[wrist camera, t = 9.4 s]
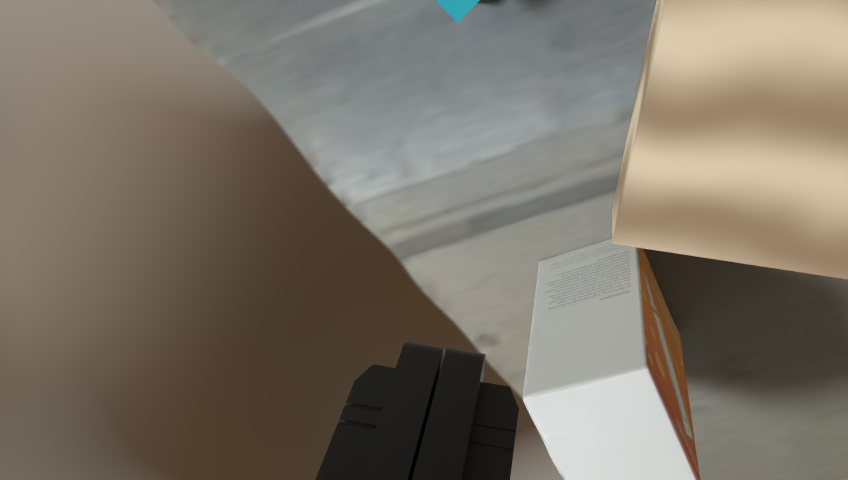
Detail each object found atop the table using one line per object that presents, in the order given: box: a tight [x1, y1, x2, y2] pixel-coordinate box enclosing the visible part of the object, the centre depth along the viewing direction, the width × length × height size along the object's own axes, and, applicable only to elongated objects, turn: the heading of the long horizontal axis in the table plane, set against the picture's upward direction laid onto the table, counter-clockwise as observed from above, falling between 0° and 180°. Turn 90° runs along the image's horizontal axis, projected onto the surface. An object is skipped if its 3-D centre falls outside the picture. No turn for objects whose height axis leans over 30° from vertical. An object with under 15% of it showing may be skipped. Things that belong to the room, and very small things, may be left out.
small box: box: [523, 238, 700, 480], centre depth 44 cm, size 8×6×13 cm
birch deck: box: [612, 0, 848, 279], centre depth 40 cm, size 17×12×4 cm
